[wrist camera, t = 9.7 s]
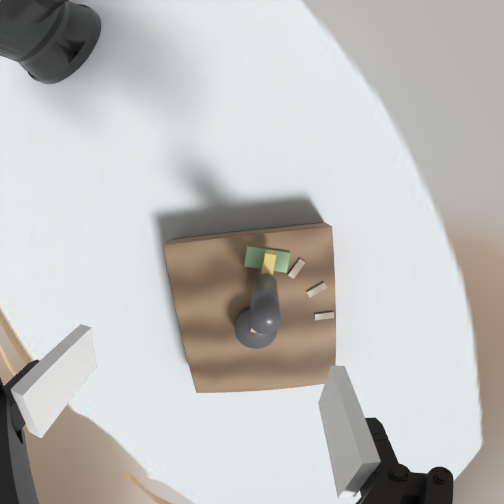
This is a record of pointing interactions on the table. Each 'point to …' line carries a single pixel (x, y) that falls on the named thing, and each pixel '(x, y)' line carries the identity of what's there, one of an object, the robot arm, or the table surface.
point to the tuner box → (239, 297)
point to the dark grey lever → (261, 309)
